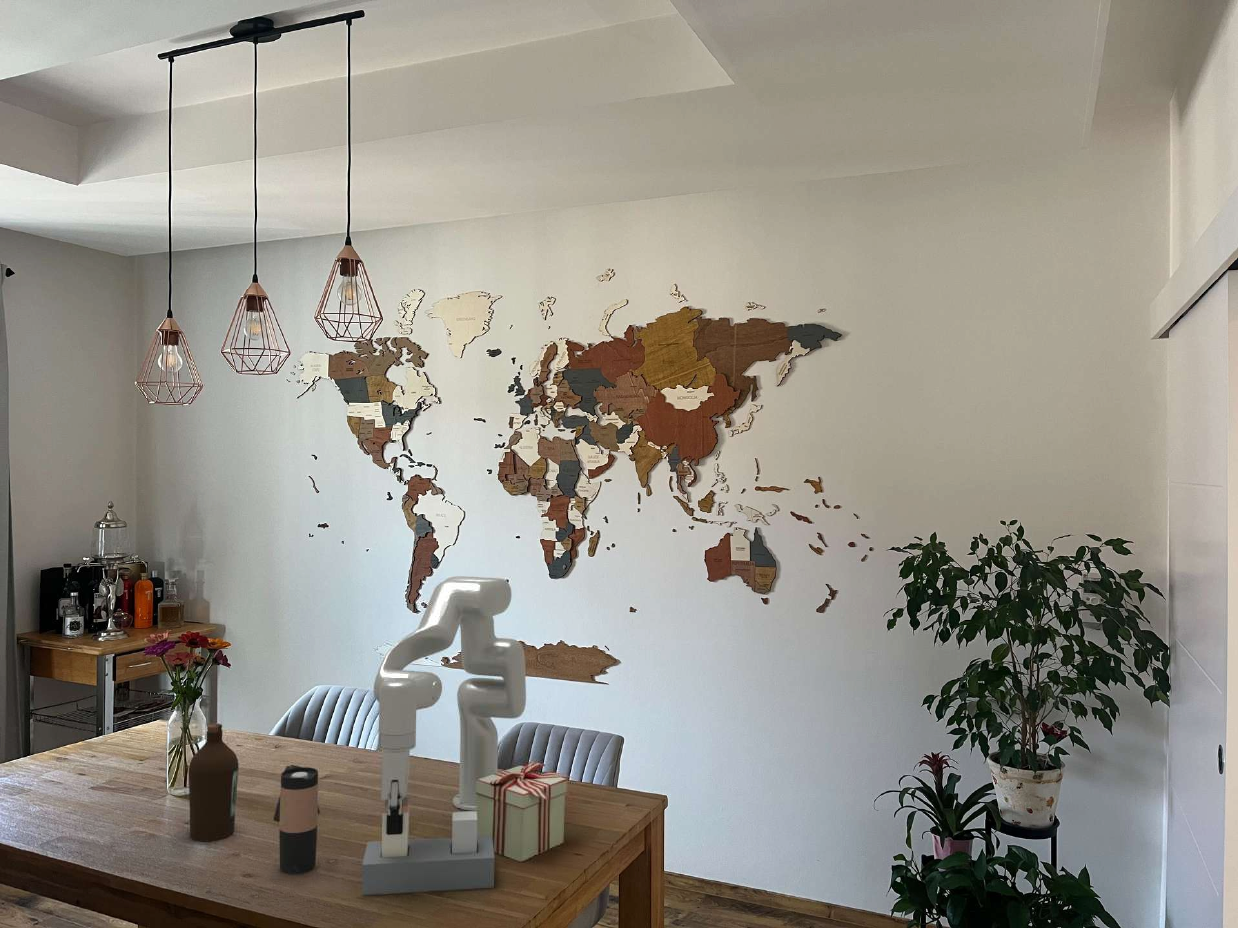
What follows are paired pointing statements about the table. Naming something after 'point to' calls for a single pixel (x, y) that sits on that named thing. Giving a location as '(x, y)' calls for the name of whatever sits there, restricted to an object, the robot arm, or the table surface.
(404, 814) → the cream plug
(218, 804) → the olive oil
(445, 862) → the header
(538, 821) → the gift box
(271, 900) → the table surface
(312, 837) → the travel mug
